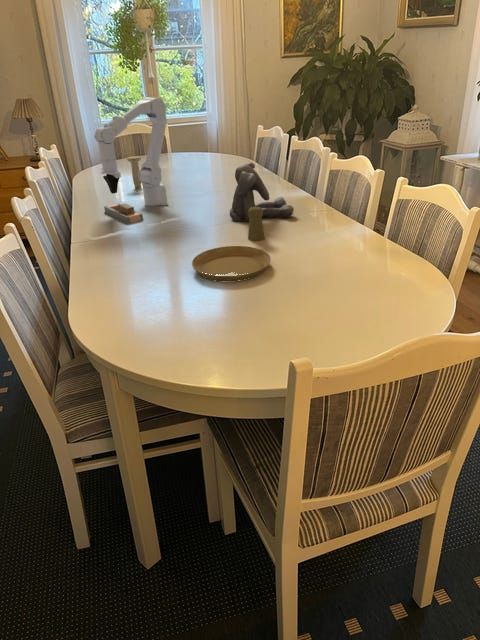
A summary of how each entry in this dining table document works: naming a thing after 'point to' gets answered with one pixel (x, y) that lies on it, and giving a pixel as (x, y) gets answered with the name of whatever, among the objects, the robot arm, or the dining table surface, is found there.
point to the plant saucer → (231, 262)
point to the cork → (255, 224)
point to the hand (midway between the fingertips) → (114, 193)
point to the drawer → (126, 209)
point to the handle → (135, 170)
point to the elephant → (245, 197)
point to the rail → (114, 212)
